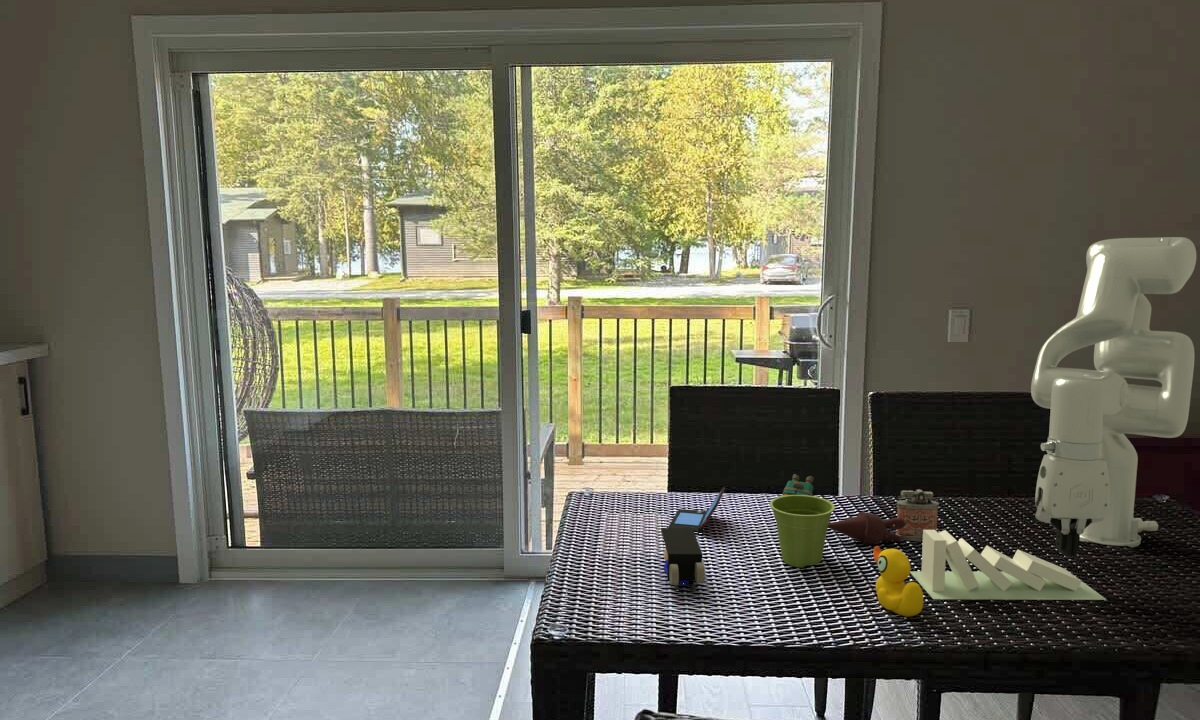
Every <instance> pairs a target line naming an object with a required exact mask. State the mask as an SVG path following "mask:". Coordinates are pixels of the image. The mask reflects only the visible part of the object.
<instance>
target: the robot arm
mask: <svg viewBox="0 0 1200 720" xmlns="http://www.w3.org/2000/svg"><path fill="white" fill-rule="evenodd" d="M1085 259H1086V261H1085V262H1086V268H1087V271H1086V274H1085V275H1086V276H1085V280H1084V283H1083V287H1082V290H1081V296H1080V301H1079V304H1078V309H1077V313H1076V316H1075V318H1073V319H1071V320H1070V321H1068V322H1067V323H1065V324H1064V325H1062V326H1061V327H1060V328H1059V329H1057V330H1056V331H1055V332H1054V333H1053V334H1052V335H1051V336H1049V338H1047V340H1046V341H1045V342H1044V344H1043V345H1042V347H1040V350H1039V353H1038V355H1037V359H1036V363H1035V367H1034V371H1033V374H1032V377H1031V378H1032V379H1031V383H1030V385H1031V386H1030V394H1031V398H1032V400H1033V401H1034V403H1035V404H1036V405H1038V406H1039V407H1041V408H1044V409H1048V410H1049V409H1050V413H1049V415H1050V416H1049V426H1048V427H1049V431H1048V437H1047V441H1046V442H1041V443H1040V450H1041V451H1042V452H1045V451H1046V453H1047V454H1044V455H1043V458H1042V459H1041V463H1040V466H1039V471H1038V475H1037V480H1036V487H1035V496H1034V497H1035V499H1034V503H1035V508H1036V512H1035V515H1034V518H1036V520H1038V521H1040V522H1042V523H1047V524H1050V525H1051V526H1052V527H1053V528H1054V529H1056V532H1055V533H1056V536H1055V548H1056V550H1057V552H1058V553H1060V554H1062V556H1064V557H1066V558H1070V557H1072V558H1076V557H1078V550H1080V542H1091V543H1094V544H1101V545H1105V546H1106V545H1108V546H1117V547H1118V546H1119V547H1126V546H1127V547H1130V548H1136V547H1138V546H1140V544H1141V541H1142V537H1141V536H1140V535H1139V534H1138V533H1141V532H1142V531H1145V532H1146V531H1147V532H1149V531H1150V532H1151V531H1152V532H1153V531H1154V532H1155V531H1156V532H1157V531H1158V530H1159V524H1158V523H1157V521H1156V520H1144V521H1143V519H1142V518H1140V517H1134V512H1135V511H1134V510H1135V509H1134V508H1135V497H1136V487H1137V475H1138V474H1137V471H1138V459H1139V457H1138V452H1137V451H1136V449H1135V447H1134V445H1133V444H1132V443H1131V441H1130V440H1129V439H1128V438H1127V436H1126V435H1125V434H1129V435H1138V436H1139V435H1141V436H1148V437H1157V438H1165V439H1167V438H1168V439H1172V438H1178V437H1180V436H1181V435H1182V434H1183V433H1184V432H1185V430H1186V427H1187V424H1188V421H1189V413H1190V406H1191V405H1190V404H1191V398H1192V397H1191V394H1192V386H1193V378H1194V369H1195V368H1194V367H1195V347H1194V343H1193V341H1192V339H1191V337H1189V335H1186V334H1184V333H1182V332H1177V331H1167V330H1166V331H1165V330H1164V331H1163V330H1151V329H1150V323H1151V316H1152V305H1151V302H1150V301H1149V300H1148V298H1147V296H1145V295H1146V294H1149V295H1151V294H1152V295H1172V294H1175V293H1178V292H1180V291H1181V289H1183V287H1184V286H1185V284H1186V283H1187V281H1189V279H1190V278H1191V276H1192V275H1193V272H1194V270H1195V267H1196V263H1197V250H1196V246H1195V243H1193V241H1192V240H1191V239H1190V238H1187V237H1184V236H1183V237H1182V236H1178V237H1177V236H1172V237H1169V236H1164V237H1124V238H1123V237H1122V238H1121V237H1120V238H1119V237H1118V238H1109V239H1103V240H1099V241H1097V242H1094V243H1092V244H1091V245H1090V246H1089V247H1088V249H1087V251H1086V255H1085ZM1093 345H1094V351H1093V363H1094V364H1093V365H1094V368H1095V370H1093V369H1086V368H1072V367H1059V366H1058V365H1059V362H1061V360H1062V359H1064V358H1065V357H1066V356H1068V355H1069V354H1071V353H1073V352H1075V351H1078V350H1080V349H1083V348H1087V347H1090V346H1093ZM1125 378H1126V379H1127V378H1128V379H1136V380H1137V379H1139V380H1151V381H1153V380H1154V381H1158V382H1159V383H1161V386H1160V387H1159V386H1150V385H1149V386H1148V385H1139V384H1129V383H1128V382H1127V380H1126V379H1125Z"/></svg>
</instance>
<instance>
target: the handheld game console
mask: <svg viewBox="0 0 1200 720" xmlns="http://www.w3.org/2000/svg"><path fill="white" fill-rule="evenodd" d="M725 490H726V487H725V486H723V487H722V488H721V490H720V492H719V493H718V494H717V496H716V498H715V499H714V501H713V502H712V503H711V505H710V507H709V508H707V509H706V510H699V509H697V510H696V509H695V510H694V509H686V508H685V509H683V508H680V509H678V510H677V511H676V513H675V514H674V516H673V518H672V520H671V522H669V525H668V527H669V528H693V531H694V532H698V533H702V532H703V533H704V530H705V528H704V526H705V527H706V524H707V523H708V521H709V520H710V518H711V517H712V515H713V514H714V513H715V511H716V509H717V507H718V506H719V503H720V501H721V499H722V497H723V495H724V492H725ZM703 529H704V530H703ZM703 533H702V534H703Z"/></svg>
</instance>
